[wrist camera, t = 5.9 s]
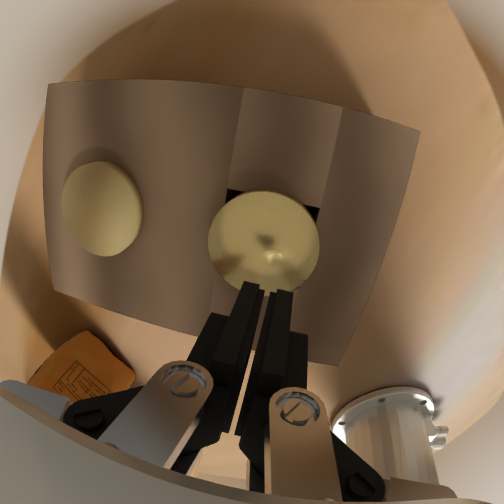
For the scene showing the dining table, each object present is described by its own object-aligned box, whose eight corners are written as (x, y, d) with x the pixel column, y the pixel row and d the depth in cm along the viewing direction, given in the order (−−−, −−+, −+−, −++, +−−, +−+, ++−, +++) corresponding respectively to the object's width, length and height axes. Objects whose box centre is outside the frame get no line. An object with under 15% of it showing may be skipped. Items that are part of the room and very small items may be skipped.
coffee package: (48, 344, 34) (-41, 455, 14) (91, 316, 30) (-29, 467, 10) (95, 395, 37) (26, 512, 17) (148, 380, 33) (69, 538, 13)
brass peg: (320, 176, 20) (332, 206, 13) (303, 247, 22) (303, 305, 15) (244, 160, 20) (215, 182, 13) (232, 231, 23) (202, 282, 16)
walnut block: (378, 127, 19) (426, 132, 11) (330, 298, 25) (338, 375, 17) (116, 87, 20) (39, 83, 12) (107, 246, 26) (47, 295, 18)
